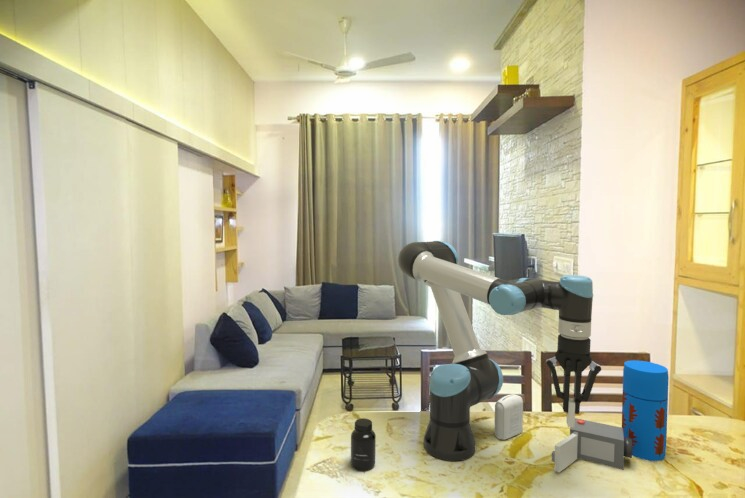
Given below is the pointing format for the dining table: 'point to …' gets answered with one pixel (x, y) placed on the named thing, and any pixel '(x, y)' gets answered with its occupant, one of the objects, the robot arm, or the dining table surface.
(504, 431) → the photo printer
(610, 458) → the camera body
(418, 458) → the dining table surface
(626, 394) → the thermos
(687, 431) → the dining table surface
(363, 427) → the supplement bottle
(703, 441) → the dining table surface
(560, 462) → the side door
